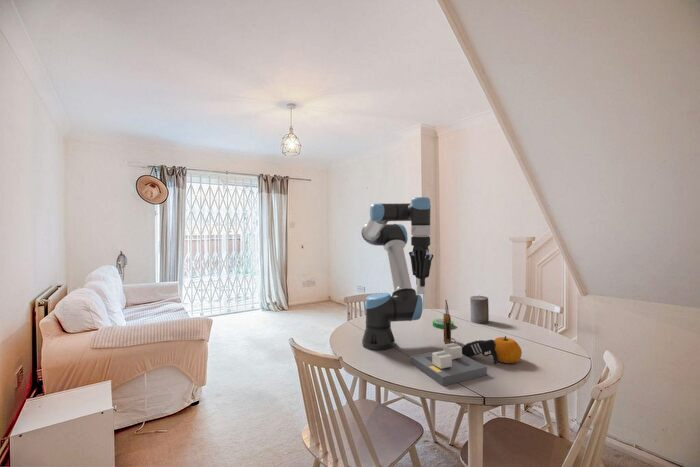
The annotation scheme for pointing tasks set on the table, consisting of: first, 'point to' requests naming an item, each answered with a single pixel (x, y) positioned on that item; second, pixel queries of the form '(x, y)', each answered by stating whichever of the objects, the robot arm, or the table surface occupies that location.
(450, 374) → the switch panel
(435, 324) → the tape roll
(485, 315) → the pillar candle
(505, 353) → the fruit
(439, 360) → the tab
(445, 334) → the brown upright pointed stick
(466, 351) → the gun
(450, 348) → the tab
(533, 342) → the table surface
